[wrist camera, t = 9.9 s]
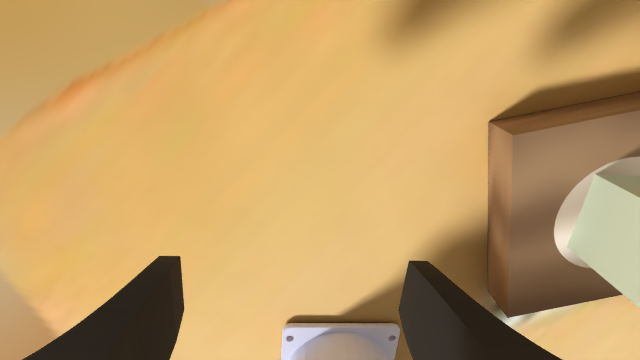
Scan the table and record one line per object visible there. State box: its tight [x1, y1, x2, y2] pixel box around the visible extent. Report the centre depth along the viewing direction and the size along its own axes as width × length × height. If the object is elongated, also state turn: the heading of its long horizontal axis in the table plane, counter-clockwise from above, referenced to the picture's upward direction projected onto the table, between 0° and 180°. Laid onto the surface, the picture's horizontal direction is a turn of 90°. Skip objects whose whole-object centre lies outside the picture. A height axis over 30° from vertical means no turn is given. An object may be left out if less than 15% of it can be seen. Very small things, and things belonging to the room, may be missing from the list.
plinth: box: [488, 92, 640, 318], centre depth 22 cm, size 12×12×2 cm
